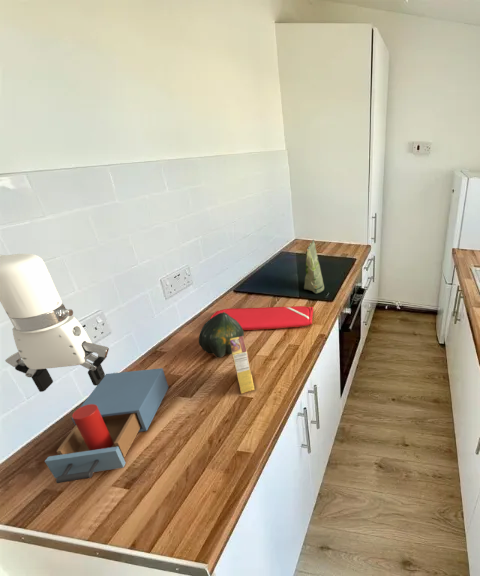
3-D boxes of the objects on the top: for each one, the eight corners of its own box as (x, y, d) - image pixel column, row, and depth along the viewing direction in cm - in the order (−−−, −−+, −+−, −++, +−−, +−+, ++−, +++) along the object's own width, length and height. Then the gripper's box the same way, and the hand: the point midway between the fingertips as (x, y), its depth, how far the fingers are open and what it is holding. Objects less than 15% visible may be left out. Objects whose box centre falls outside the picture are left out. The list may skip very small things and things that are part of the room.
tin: (86, 456, 77) (67, 420, 72) (96, 441, 81) (79, 405, 75) (107, 453, 78) (90, 417, 73) (116, 438, 82) (101, 402, 76)
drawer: (114, 484, 72) (106, 467, 70) (42, 497, 69) (30, 479, 67) (149, 416, 90) (144, 400, 87) (93, 423, 87) (85, 407, 84)
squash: (193, 356, 106) (220, 319, 107) (188, 335, 117) (213, 301, 118) (232, 369, 115) (257, 334, 116) (224, 348, 127) (247, 317, 127)
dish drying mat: (217, 313, 141) (216, 306, 140) (313, 310, 147) (313, 303, 146) (205, 333, 127) (203, 325, 126) (311, 329, 133) (311, 321, 132)
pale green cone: (310, 296, 160) (307, 248, 149) (298, 288, 167) (294, 241, 156) (329, 290, 167) (328, 244, 156) (316, 282, 174) (314, 237, 163)
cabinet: (146, 430, 86) (138, 410, 83) (82, 439, 83) (71, 418, 80) (168, 387, 101) (162, 368, 98) (114, 393, 97) (106, 373, 94)
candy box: (236, 376, 107) (229, 338, 100) (250, 373, 108) (244, 334, 102) (239, 394, 100) (232, 354, 93) (254, 390, 101) (248, 350, 95)
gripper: (102, 304, 69) (127, 368, 76) (1, 311, 65) (37, 377, 72) (81, 323, 62) (110, 390, 69) (-33, 331, 58) (11, 402, 66)
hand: (73, 384), depth 71 cm, fingers open, 9 cm apart
